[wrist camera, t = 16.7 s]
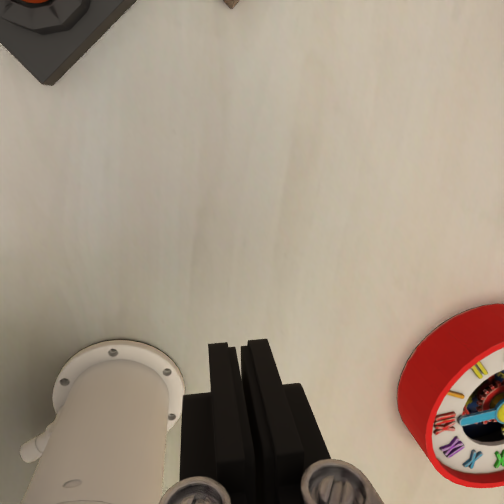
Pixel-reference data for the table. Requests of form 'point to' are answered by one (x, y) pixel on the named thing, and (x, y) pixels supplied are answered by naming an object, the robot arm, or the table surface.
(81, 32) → the button box
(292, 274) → the table surface
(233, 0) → the dial panel
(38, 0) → the button
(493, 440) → the toy clock
